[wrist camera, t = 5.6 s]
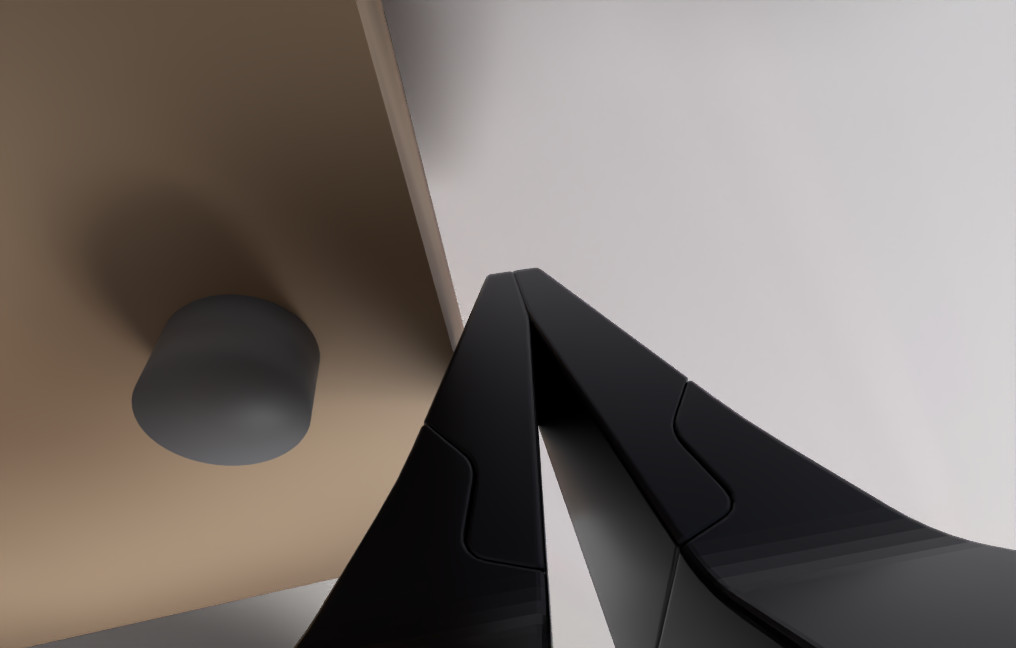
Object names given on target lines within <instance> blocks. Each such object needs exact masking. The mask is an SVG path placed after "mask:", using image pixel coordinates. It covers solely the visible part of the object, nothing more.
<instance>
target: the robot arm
mask: <svg viewBox="0 0 1016 648" xmlns="http://www.w3.org/2000/svg"><path fill="white" fill-rule="evenodd" d="M538 426H539V429H540V432H541V435H542V438H543V441H544V443H545V446H546V449H547V452H548V455H549V458H550V461H551V464H552V466H553V469H554V472H555V475H556V478H557V481H558V484H559V487H560V489H561V492H562V495H563V498H564V501H565V504H566V507H567V510H568V513H569V515H570V518H571V521H572V524H573V527H574V530H575V533H576V536H577V538H578V541H579V544H580V547H581V550H582V553H583V556H584V559H585V561H586V564H587V567H588V570H589V573H590V576H591V579H592V582H593V585H594V587H595V590H596V593H597V596H598V599H599V602H600V605H601V608H602V610H603V613H604V616H605V619H606V622H607V625H608V628H609V631H610V633H611V636H612V639H613V642H614V645H615V648H1016V550H1011V549H1006V548H1001V547H996V546H991V545H986V544H981V543H977V542H973V541H969V540H966V539H962V538H959V537H956V536H952V535H950V534H947V533H945V532H942V531H939V530H937V529H934V528H932V527H929V526H927V525H925V524H923V523H921V522H919V521H916V520H914V519H912V518H910V517H908V516H906V515H904V514H903V513H901V512H899V511H897V510H895V509H894V508H892V507H890V506H888V505H887V504H885V503H883V502H882V501H880V500H878V499H876V498H875V497H873V496H871V495H870V494H868V493H866V492H865V491H863V490H861V489H860V488H858V487H856V486H855V485H853V484H851V483H850V482H848V481H846V480H845V479H843V478H841V477H840V476H838V475H836V474H835V473H833V472H831V471H830V470H828V469H826V468H825V467H823V466H821V465H820V464H818V463H816V462H815V461H813V460H811V459H810V458H808V457H806V456H805V455H803V454H801V453H800V452H798V451H796V450H795V449H793V448H791V447H790V446H788V445H786V444H785V443H783V442H781V441H780V440H778V439H777V438H775V437H773V436H772V435H770V434H769V433H767V432H766V431H764V430H762V429H761V428H759V427H758V426H756V425H754V424H753V423H751V422H750V421H748V420H746V419H745V418H743V417H742V416H741V415H739V414H738V413H736V412H735V411H733V410H732V409H731V408H729V407H728V406H726V405H725V404H723V403H722V402H721V401H719V400H718V399H716V398H715V397H713V396H712V395H711V394H709V393H708V392H707V391H705V390H704V389H702V388H701V387H700V386H698V385H697V384H696V383H694V382H693V381H688V378H687V377H686V376H684V375H683V374H682V373H680V372H679V371H678V370H676V369H675V368H674V367H672V366H671V365H670V364H668V363H667V362H666V361H664V360H663V359H661V358H660V357H659V356H657V355H656V354H655V353H653V352H652V351H651V350H649V349H648V348H647V347H645V346H644V345H643V344H641V343H640V342H638V341H637V340H636V339H634V338H633V337H632V336H630V335H629V334H628V333H626V332H625V331H624V330H622V329H621V328H619V327H618V326H617V325H615V324H614V323H613V322H611V321H610V320H609V319H607V318H606V317H605V316H603V315H602V314H601V313H599V312H598V311H596V310H595V309H594V308H592V307H591V306H590V305H588V304H587V303H586V302H584V301H583V300H582V299H580V298H579V297H578V296H576V295H575V294H573V293H572V292H571V291H569V290H568V289H567V288H565V287H564V286H563V285H561V284H560V283H559V282H557V281H556V280H555V279H553V278H552V277H550V276H549V275H548V274H546V273H545V272H544V271H542V270H541V269H539V268H529V269H523V270H517V271H514V272H503V273H497V274H490V275H488V276H487V277H486V279H485V281H484V284H483V286H482V288H481V291H480V293H479V295H478V298H477V300H476V302H475V305H474V307H473V309H472V311H471V314H470V316H469V318H468V321H467V323H466V325H465V328H464V330H463V332H462V335H461V337H460V339H459V341H458V344H457V346H456V348H455V351H454V353H453V355H452V358H451V360H450V362H449V365H448V367H447V369H446V371H445V374H444V376H443V378H442V381H441V383H440V385H439V388H438V390H437V392H436V395H435V397H434V399H433V401H432V404H431V406H430V408H429V411H428V413H427V415H426V418H425V420H424V425H423V426H422V427H421V429H420V431H419V433H418V435H417V438H416V440H415V442H414V445H413V447H412V449H411V451H410V453H409V455H408V458H407V460H406V462H405V464H404V466H403V468H402V470H401V472H400V474H399V476H398V478H397V480H396V482H395V484H394V486H393V488H392V489H391V491H390V493H389V495H388V496H387V498H386V500H385V502H384V503H383V505H382V507H381V509H380V510H379V512H378V514H377V516H376V517H375V519H374V521H373V522H372V524H371V526H370V527H369V529H368V531H367V532H366V534H365V536H364V537H363V539H362V541H361V542H360V544H359V546H358V547H357V549H356V550H355V552H354V554H353V555H352V557H351V559H350V560H349V562H348V564H347V565H346V567H345V569H344V570H343V572H342V574H341V575H340V577H339V579H338V580H337V582H336V584H335V585H334V587H333V588H332V590H331V592H330V593H329V595H328V597H327V598H326V600H325V602H324V603H323V605H322V607H321V608H320V610H319V612H318V613H317V615H316V616H315V618H314V619H313V621H312V623H311V624H310V626H309V627H308V629H307V630H306V632H305V633H304V635H303V636H302V637H301V639H300V640H299V641H298V643H297V644H296V645H295V647H294V648H553V637H552V623H551V608H550V593H549V578H548V564H547V549H546V534H545V519H544V505H543V490H542V475H541V461H540V446H539V431H538Z"/></svg>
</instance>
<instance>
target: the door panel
mask: <svg viewBox="0 0 1016 648" xmlns="http://www.w3.org/2000/svg"><path fill="white" fill-rule="evenodd" d="M463 330H464V327H463V323H462V319H461V315H460V311H459V307H458V303H457V299H456V295H455V291H454V287H453V283H452V279H451V275H450V272H449V268H448V264H447V260H446V256H445V252H444V248H443V244H442V240H441V236H440V232H439V228H438V224H437V220H436V216H435V212H434V208H433V204H432V200H431V196H430V192H429V188H428V184H427V180H426V176H425V172H424V168H423V164H422V160H421V156H420V152H419V148H418V144H417V140H416V136H415V132H414V129H413V125H412V121H411V117H410V113H409V109H408V105H407V101H406V97H405V93H404V89H403V85H402V81H401V77H400V73H399V69H398V65H397V61H396V57H395V53H394V49H393V45H392V41H391V37H390V33H389V29H388V25H387V21H386V17H385V13H384V9H383V5H382V1H381V0H0V648H26V647H31V646H35V645H40V644H44V643H49V642H53V641H58V640H62V639H66V638H71V637H75V636H80V635H84V634H89V633H93V632H98V631H102V630H107V629H111V628H116V627H120V626H125V625H129V624H133V623H138V622H142V621H147V620H151V619H156V618H160V617H165V616H169V615H174V614H178V613H183V612H187V611H191V610H196V609H200V608H205V607H209V606H214V605H218V604H223V603H227V602H232V601H236V600H241V599H245V598H249V597H254V596H258V595H263V594H267V593H272V592H276V591H281V590H285V589H290V588H294V587H299V586H303V585H308V584H312V583H316V582H321V581H325V580H330V579H334V578H339V577H340V575H341V574H342V572H343V570H344V569H345V567H346V565H347V564H348V562H349V560H350V559H351V557H352V555H353V554H354V552H355V550H356V549H357V547H358V546H359V544H360V542H361V541H362V539H363V537H364V536H365V534H366V532H367V531H368V529H369V527H370V526H371V524H372V522H373V521H374V519H375V517H376V516H377V514H378V512H379V510H380V509H381V507H382V505H383V503H384V502H385V500H386V498H387V496H388V495H389V493H390V491H391V489H392V488H393V486H394V484H395V482H396V480H397V478H398V476H399V474H400V472H401V470H402V468H403V466H404V464H405V462H406V460H407V458H408V455H409V453H410V451H411V449H412V447H413V445H414V442H415V440H416V438H417V435H418V433H419V431H420V429H421V427H422V426H423V425H424V420H425V418H426V415H427V413H428V411H429V408H430V406H431V404H432V401H433V399H434V397H435V395H436V392H437V390H438V388H439V385H440V383H441V381H442V378H443V376H444V374H445V371H446V369H447V367H448V365H449V362H450V360H451V358H452V355H453V353H454V351H455V348H456V346H457V344H458V341H459V339H460V337H461V335H462V332H463Z"/></svg>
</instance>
